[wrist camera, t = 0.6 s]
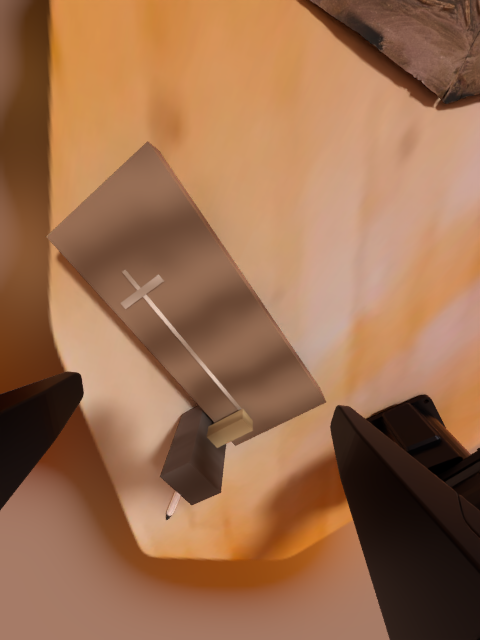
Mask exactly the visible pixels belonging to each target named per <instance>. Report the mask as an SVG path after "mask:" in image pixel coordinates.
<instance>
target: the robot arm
mask: <svg viewBox="0 0 480 640" xmlns="http://www.w3.org/2000/svg"><path fill="white" fill-rule="evenodd" d="M83 394H84V391H83V384H82V378H81V375H80V374H79V373H76V372H64V373H61V374H58V375H55V376H53V377H50V378H47V379H44V380H41V381H38V382H35V383H32V384H29V385H26V386H23V387H20V388H18V389H15V390H12V391H9V392H6V393H3V394H0V510H1V508H2V507H3V506H4V505H5V504H6V502H7V501H8V500H9V498H10V497H11V496H12V495H13V493H14V492H15V491H16V489H17V488H18V487H19V485H20V484H21V483H22V482H23V481H24V479H25V478H26V477H27V476H28V474H29V473H30V472H31V470H32V469H33V468H34V467H35V465H36V464H37V463H38V461H39V460H40V459H41V458H42V456H43V455H44V454H45V453H46V451H47V450H48V449H49V447H50V446H51V445H52V443H53V442H54V441H55V439H56V438H57V436H58V435H59V434H60V432H61V431H62V429H63V428H64V426H65V424H66V423H67V421H68V420H69V418H70V417H71V415H72V414H73V412H74V411H75V409H76V408H77V406H78V404H79V403H80V401H81V400H82V398H83ZM330 428H331V435H332V440H333V445H334V450H335V455H336V460H337V465H338V470H339V474H340V478H341V482H342V485H343V488H344V492H345V495H346V498H347V501H348V505H349V508H350V511H351V514H352V518H353V521H354V524H355V527H356V531H357V534H358V537H359V541H360V544H361V547H362V550H363V554H364V557H365V560H366V563H367V567H368V570H369V573H370V577H371V580H372V583H373V586H374V589H375V593H376V596H377V599H378V602H379V606H380V609H381V612H382V616H383V619H384V622H385V625H386V629H387V632H388V635H389V638H390V640H480V448H478V449H477V450H478V451H476V452H475V453H473V454H470V453H469V452H468V451H467V450H466V449H465V448H464V447H463V446H462V445H461V444H460V443H459V442H458V441H457V439H456V438H455V437H454V436H453V435H452V434H451V433H450V432H449V431H448V430H447V429H446V427H445V425H444V423H443V421H442V419H441V417H440V415H439V413H438V411H437V409H436V407H435V405H434V403H433V401H432V399H431V398H430V397H429V396H428V395H421V396H418V397H416V398H414V399H412V400H409V401H407V402H405V403H403V404H400V405H398V406H396V407H393V408H391V409H389V410H387V411H384V412H382V413H380V414H378V415H375V416H373V417H371V418H369V419H367V420H366V419H365V418H363V417H362V416H361V415H360V414H358V413H357V412H356V411H355V410H353V409H352V408H351V407H349V406H342V405H338V406H337V407H336V408H335V411H334V415H333V418H332V421H331V426H330Z"/></svg>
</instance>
